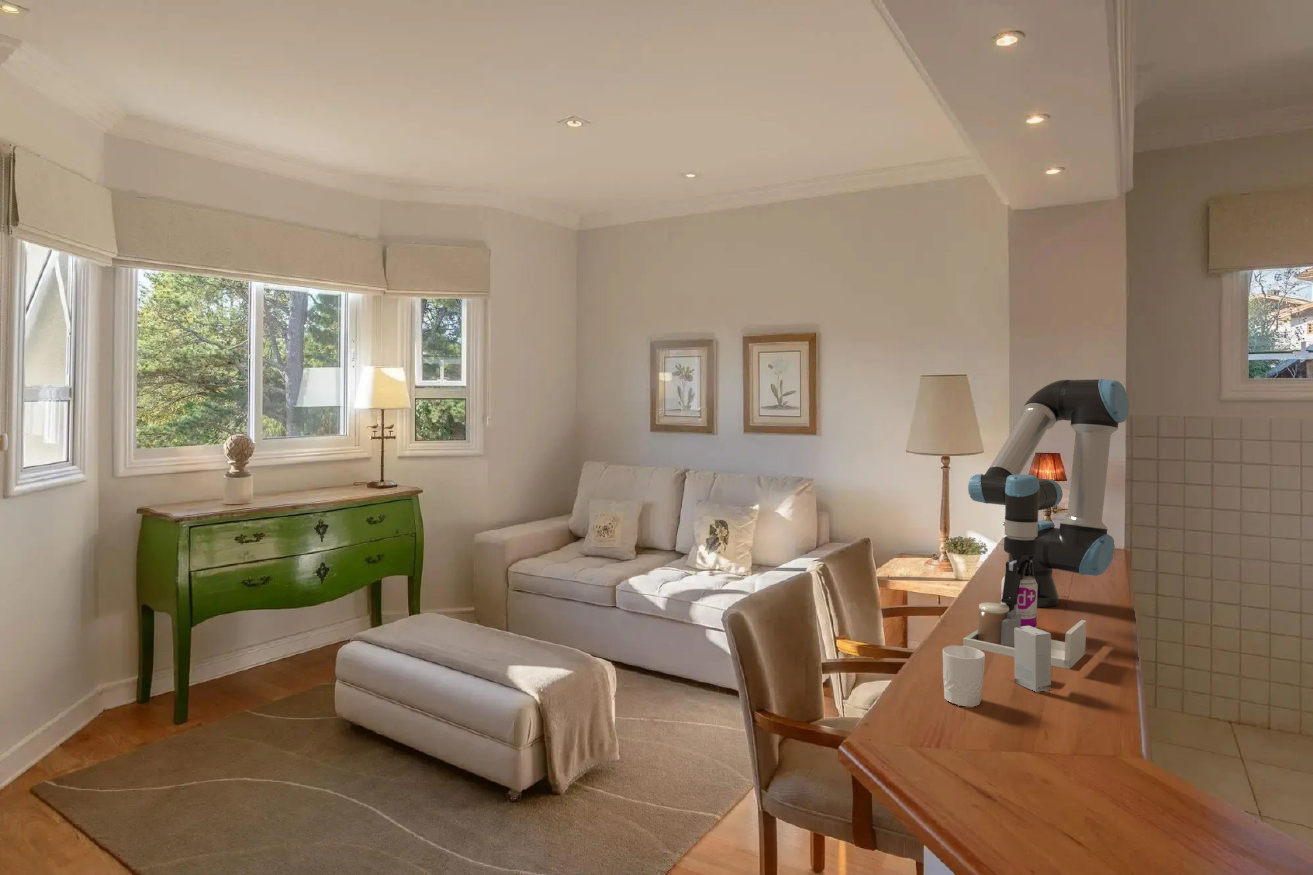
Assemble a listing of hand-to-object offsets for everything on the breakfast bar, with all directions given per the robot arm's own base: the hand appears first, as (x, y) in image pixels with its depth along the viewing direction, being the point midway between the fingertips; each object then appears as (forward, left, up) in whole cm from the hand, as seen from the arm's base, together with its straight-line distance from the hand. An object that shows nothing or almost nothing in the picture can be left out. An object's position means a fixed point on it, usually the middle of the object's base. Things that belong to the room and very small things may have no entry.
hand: (1018, 624), depth 197 cm
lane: (+14, +6, -3) cm, 15 cm away
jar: (+14, -1, -2) cm, 14 cm away
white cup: (+50, +5, -3) cm, 50 cm away
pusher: (+14, +3, -1) cm, 14 cm away
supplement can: (0, 0, -3) cm, 3 cm away
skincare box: (+33, +13, -3) cm, 36 cm away
